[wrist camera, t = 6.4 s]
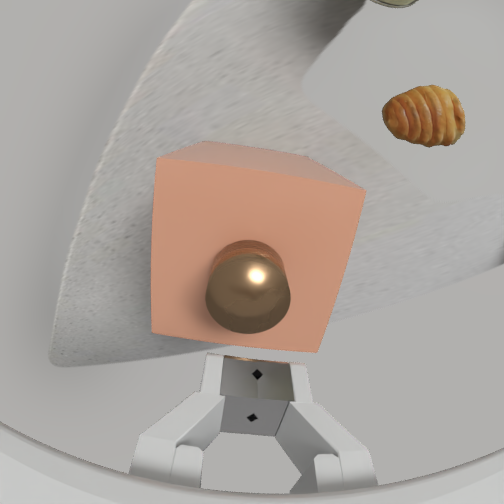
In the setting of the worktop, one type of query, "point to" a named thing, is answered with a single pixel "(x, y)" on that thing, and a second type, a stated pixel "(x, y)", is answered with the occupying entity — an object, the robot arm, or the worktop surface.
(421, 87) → the pastry
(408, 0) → the coffee can
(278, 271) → the plunger
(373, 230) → the worktop surface
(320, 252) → the block
